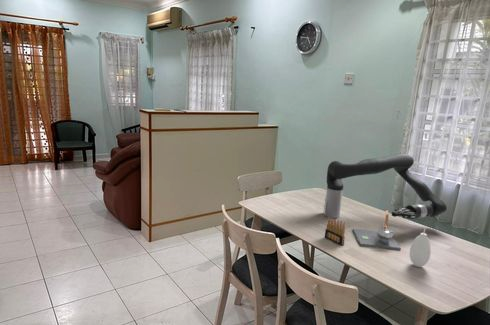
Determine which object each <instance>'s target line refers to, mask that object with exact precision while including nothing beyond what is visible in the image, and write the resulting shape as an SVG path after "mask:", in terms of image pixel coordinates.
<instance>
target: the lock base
mask: <svg viewBox="0 0 490 325" xmlns="http://www.w3.org/2000/svg"><path fill="white" fill-rule="evenodd" d="M352 232H353V234H354V236H355V239H357V240H356V241H357V242H358V244H359V246H361V247H367V248H377V249H387V250H395V251H401V249H402V248H401V246H400V245H399V244H398V242H397V241H396V239H395V238H394V237H393V238H392V239H383V238H381V237H379V236H378V235H377V234H378V230H370V229H369V230H368V229H362V228H361V229H359V228H352Z"/></svg>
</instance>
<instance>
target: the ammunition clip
mask: <svg viewBox="0 0 490 325" xmlns="http://www.w3.org/2000/svg"><path fill="white" fill-rule="evenodd" d="M345 229H346V223H345V222H342V221H339V219H337V218H333V217H332V218H330V216H329V217H327V223H326V228H325V232H324V237H323V238H324V239H325V240H328V241H330V242H333V243H334V244H336V245H339V246H340V247H343V246H344V245H345V236H346V235H345V234H346V232H345V231H346V230H345Z"/></svg>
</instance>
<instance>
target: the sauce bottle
mask: <svg viewBox="0 0 490 325" xmlns="http://www.w3.org/2000/svg"><path fill="white" fill-rule="evenodd" d="M431 251H432V250H431V243H430V240H429V238H428V234H427V233H426V228H424V229H423V232H421V233H419V235H417V236H416V237H415V238H414V240H413V241H412V243H411V246H410V248H409V258H410V261H411V263H412V264H413V266H415V267H417V268H421V267H424V266H426V265H427V264H428V262H429V260H430V257H431V253H432V252H431Z"/></svg>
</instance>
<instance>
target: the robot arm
mask: <svg viewBox="0 0 490 325" xmlns="http://www.w3.org/2000/svg"><path fill="white" fill-rule="evenodd" d="M413 165H414V158H413V157H412V156H411V155H410V154H406V153H402V154H401V153H400V154H397V155H392V156H387V157H377V158H367V159H363V160H360V161H359V162H356V163H343V162H340V161H338V160H334V161H331V162H330V163H329V165H328V167H327V173H326V185H327V186H326V193H325V194H326V195H325V198H324V204H323V211H322V213H323V217H325V218H329V216H330V219H332V217H333V219H339V218H340V214H341V207H342V202H343V201H342V200H343V199H342V198H343V192H344V183H343V181H342V180H344V179H347V178H352V177H356V176H357V177H358V176H369V175H376V174H380V173H384V172H386V171H389V170H391V169H394V171H395V172H396V173H397V174H398V175H399V176H400V178H402V179H403V180H404V181H405V182H406V183H407V184H408V185H409V186H410V187H411V189H413V190H414V192H415V194H416V195H418V196H417V197H419V199H420V200H421V201H422V202H424V203H419V204H417V203H416V204H408V205H406V206H405V207H401V208H399V207H398V206H395V207H394V211H391V216H392V217H394V218H395V217H400V218H403V219H408V220H409V219H410V220H415V219H422V218H427V217H429V218H435V217H437V216H439V215H442V214H444V213H445V212H446V211H447V210H448V209H447V208H448V207H447V204H446V203H445V202H444V201H443V200H442V199H441V198H439V197H438V196H436V194H434V193H433V191H432V190H431V189H430V188H429V187H428V185H427V184H426V183H425V182H424V181H422V180H420V179H418V178H417V177H416V176H414V175H413V174H412V173H411V172H410V170H409V169H410V168H411V167H412V166H413ZM429 201H430V202H431V204H430V203H425V202H429Z"/></svg>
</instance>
